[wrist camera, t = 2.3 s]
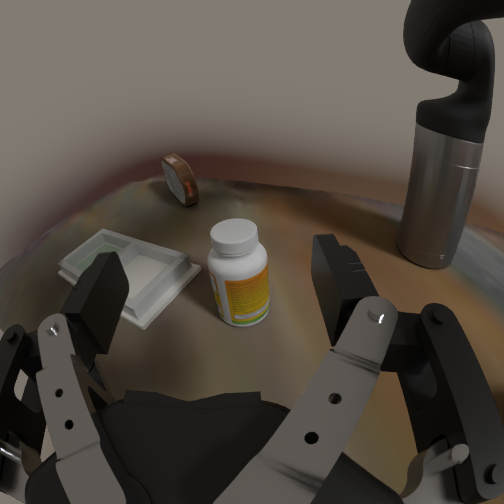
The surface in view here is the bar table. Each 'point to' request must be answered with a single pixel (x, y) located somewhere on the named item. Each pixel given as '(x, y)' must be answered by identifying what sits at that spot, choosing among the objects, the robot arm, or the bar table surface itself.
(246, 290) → the supplement bottle
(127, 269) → the compartment tray
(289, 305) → the bar table surface
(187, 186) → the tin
